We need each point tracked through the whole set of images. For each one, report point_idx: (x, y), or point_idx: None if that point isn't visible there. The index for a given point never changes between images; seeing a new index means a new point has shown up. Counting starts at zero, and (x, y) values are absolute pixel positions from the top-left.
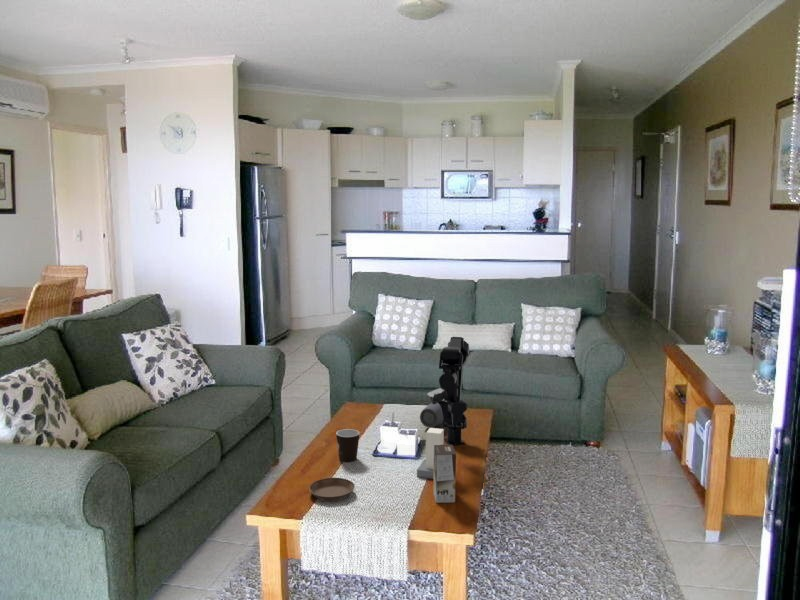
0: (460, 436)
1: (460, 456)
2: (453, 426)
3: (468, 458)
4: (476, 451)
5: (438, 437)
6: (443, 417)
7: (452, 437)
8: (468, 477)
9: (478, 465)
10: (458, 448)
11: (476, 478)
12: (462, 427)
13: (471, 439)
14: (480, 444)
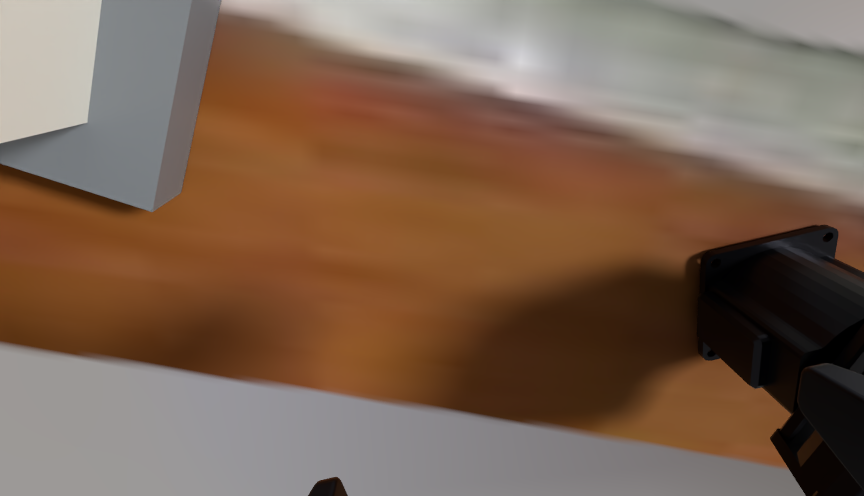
0: (730, 365)
1: (461, 296)
2: (313, 491)
3: (417, 342)
4: (539, 402)
5: None
6: (844, 388)
7: (756, 301)
8: (36, 295)
9: (285, 384)
10: (621, 303)
11: (31, 343)
12: (793, 436)
13: (756, 400)
14: (653, 436)
